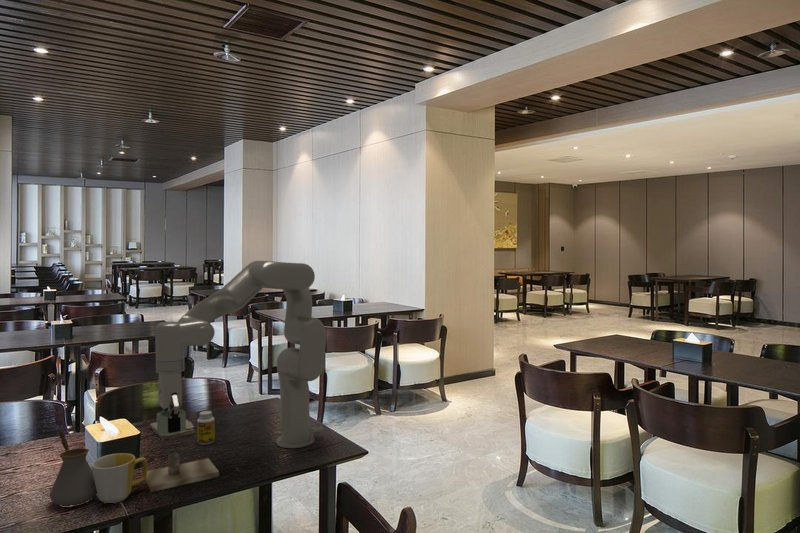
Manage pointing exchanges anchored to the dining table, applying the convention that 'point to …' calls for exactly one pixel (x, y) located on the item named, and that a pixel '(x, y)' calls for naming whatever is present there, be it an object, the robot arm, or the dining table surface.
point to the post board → (180, 473)
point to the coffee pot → (73, 477)
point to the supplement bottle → (205, 428)
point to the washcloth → (186, 432)
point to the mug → (116, 476)
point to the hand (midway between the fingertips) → (171, 427)
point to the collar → (163, 422)
